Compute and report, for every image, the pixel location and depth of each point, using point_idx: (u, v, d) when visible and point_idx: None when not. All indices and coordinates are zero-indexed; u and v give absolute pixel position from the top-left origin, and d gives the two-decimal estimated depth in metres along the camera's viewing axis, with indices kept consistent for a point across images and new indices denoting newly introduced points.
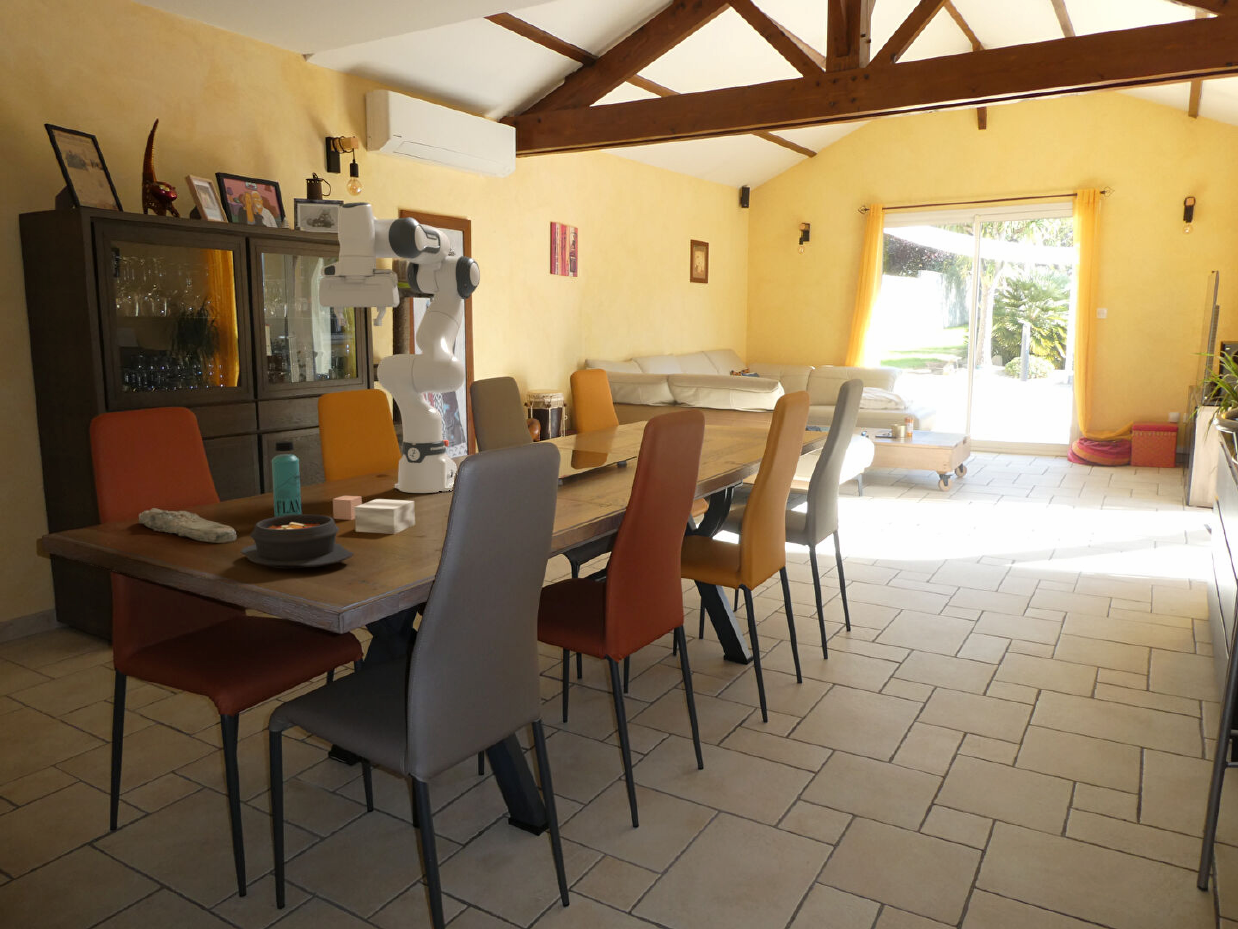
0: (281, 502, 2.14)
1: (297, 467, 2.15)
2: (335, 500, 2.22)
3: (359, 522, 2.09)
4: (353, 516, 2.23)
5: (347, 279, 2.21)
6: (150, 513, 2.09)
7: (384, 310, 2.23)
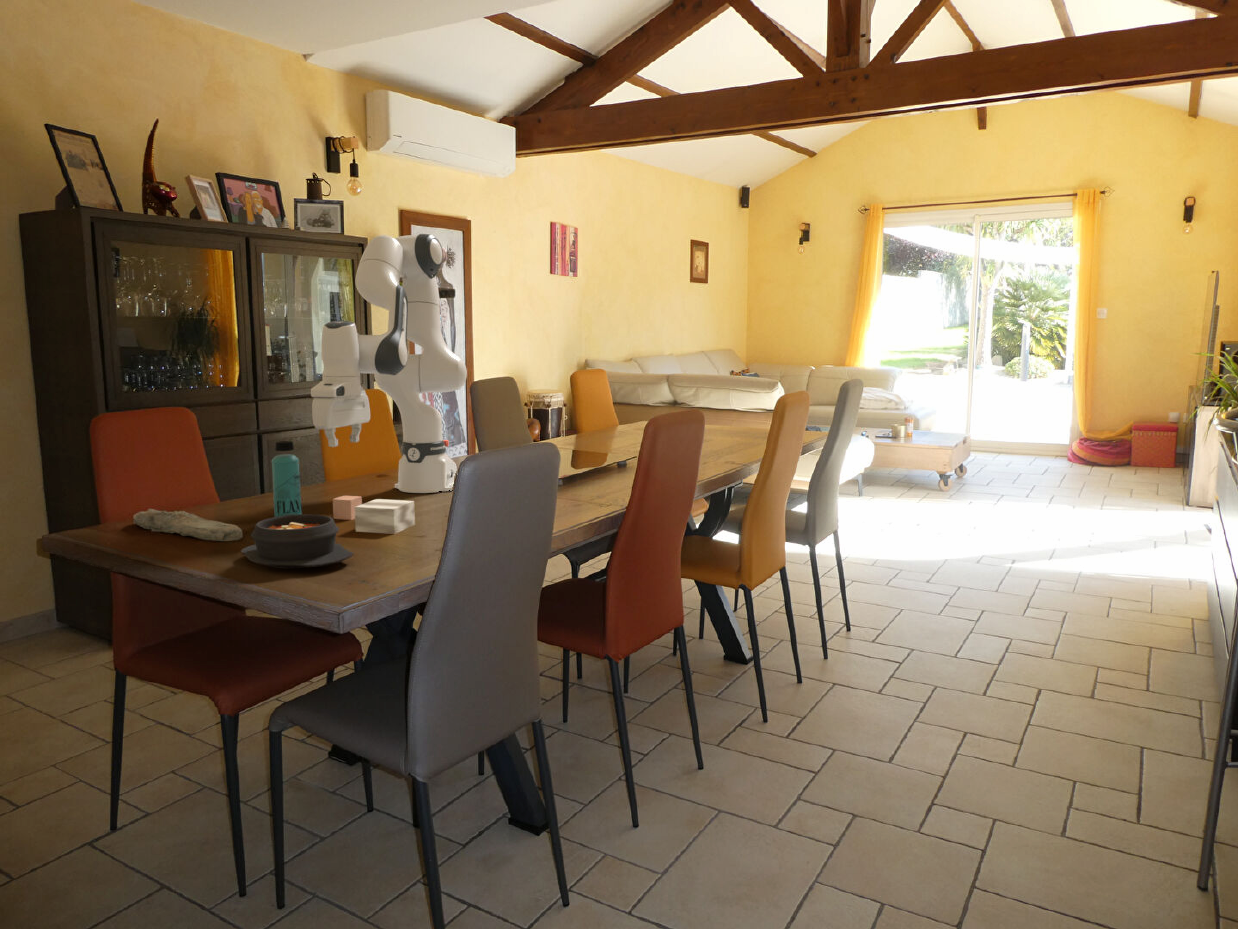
0: (281, 502, 2.14)
1: (297, 467, 2.15)
2: (335, 500, 2.22)
3: (359, 522, 2.09)
4: (353, 516, 2.23)
5: (348, 399, 2.18)
6: (148, 514, 2.08)
7: None
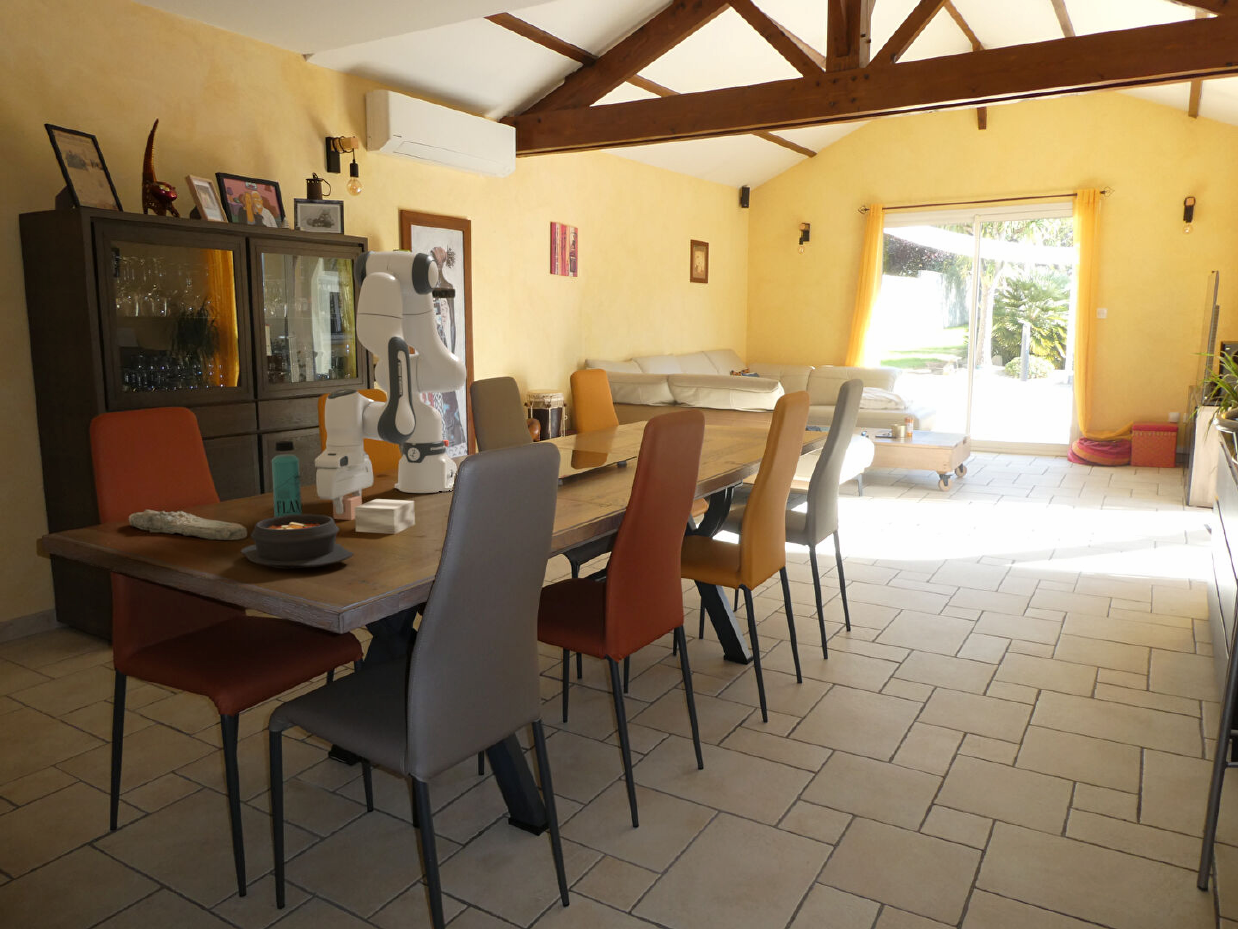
0: (281, 502, 2.14)
1: (297, 467, 2.15)
2: None
3: (359, 522, 2.09)
4: (353, 516, 2.23)
5: (352, 467, 2.21)
6: (147, 514, 2.07)
7: None
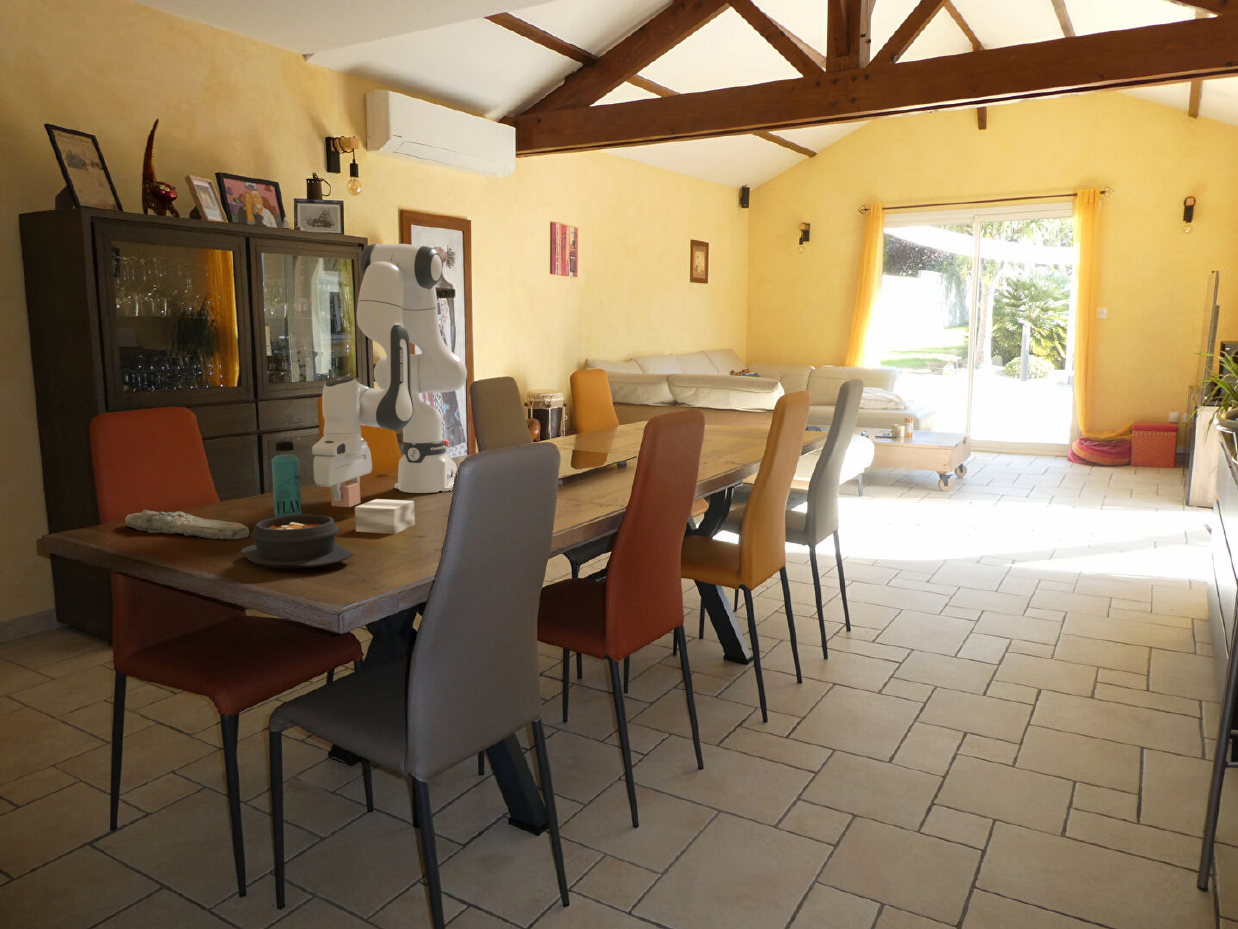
0: (281, 502, 2.14)
1: (297, 467, 2.15)
2: None
3: (359, 522, 2.09)
4: (351, 503, 2.23)
5: (349, 454, 2.21)
6: (146, 515, 2.07)
7: None
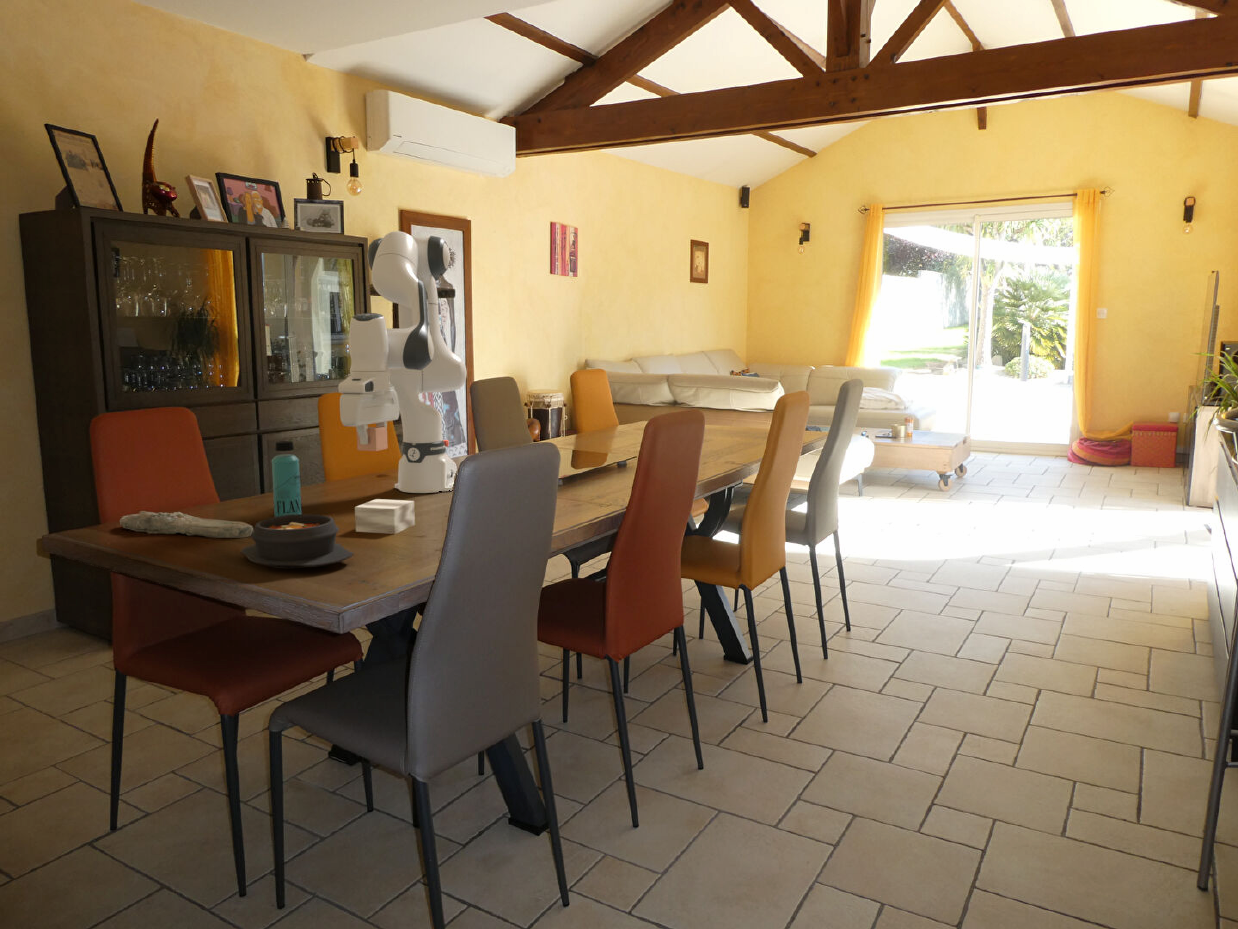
0: (281, 502, 2.14)
1: (297, 467, 2.15)
2: None
3: (359, 522, 2.09)
4: (378, 447, 2.10)
5: (377, 395, 2.08)
6: (145, 516, 2.06)
7: None
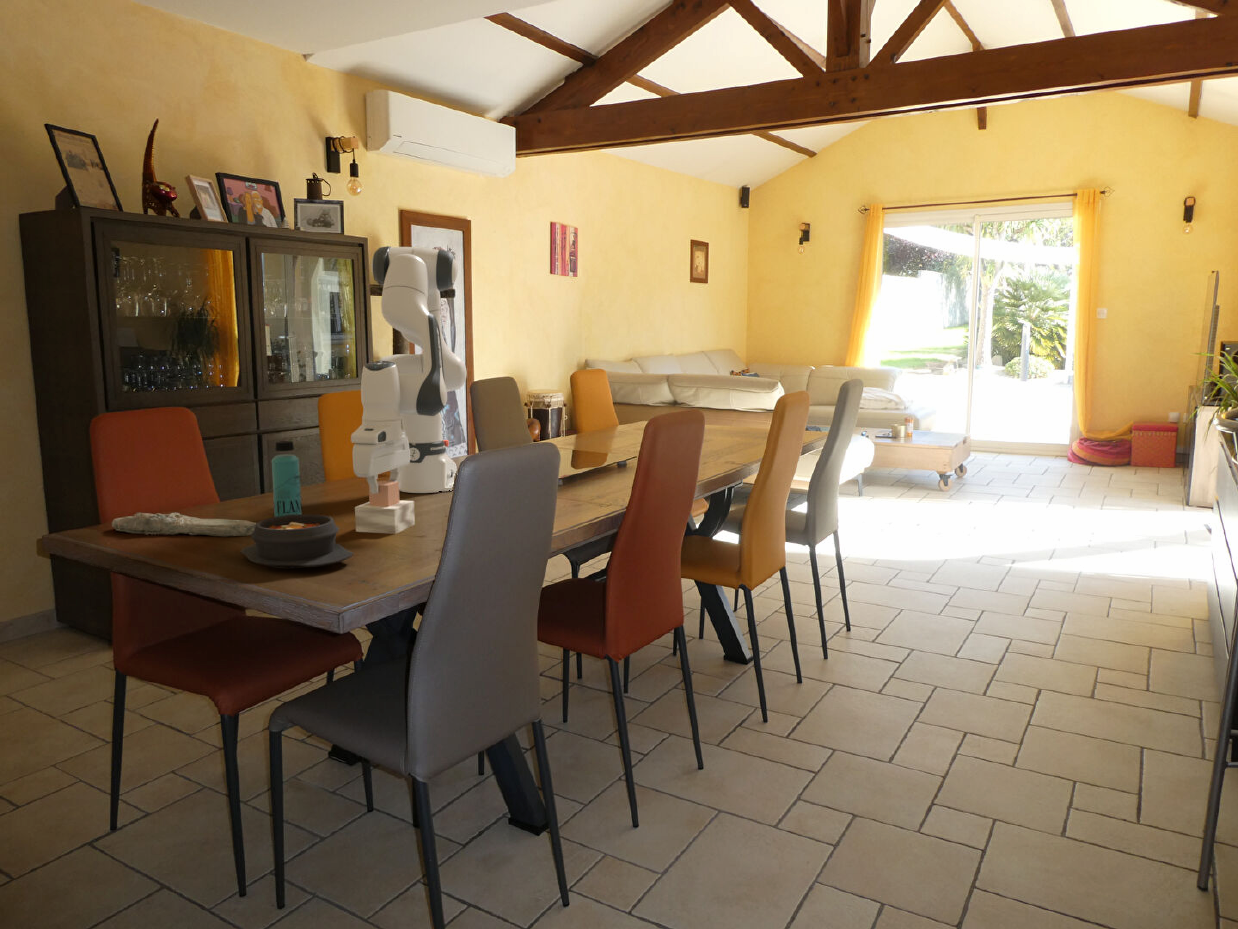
0: (281, 502, 2.14)
1: (297, 467, 2.15)
2: None
3: (359, 522, 2.09)
4: (391, 502, 2.10)
5: (389, 443, 2.08)
6: (144, 517, 2.05)
7: None
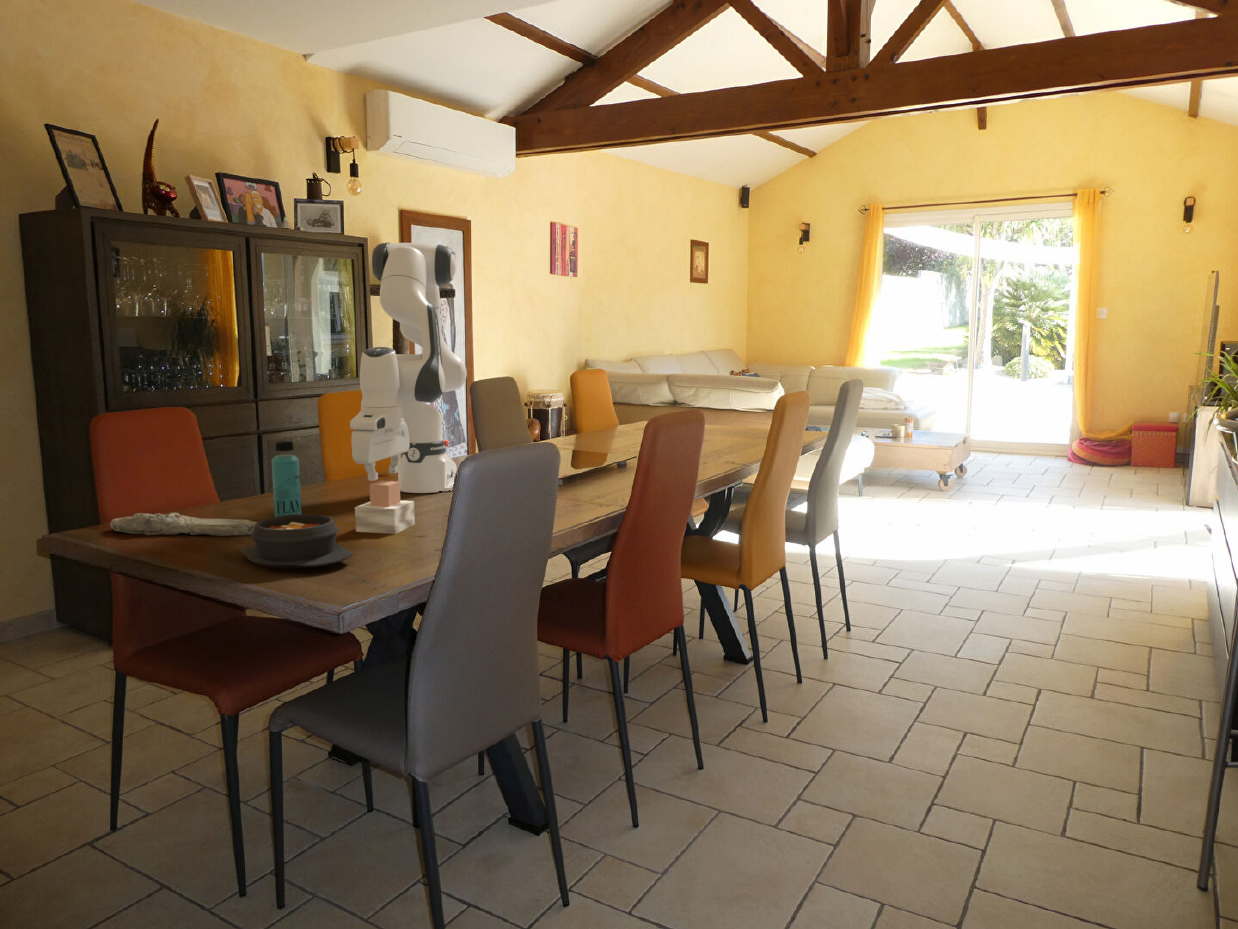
0: (281, 502, 2.14)
1: (297, 467, 2.15)
2: (372, 485, 2.10)
3: (359, 522, 2.09)
4: (391, 502, 2.10)
5: (389, 430, 2.08)
6: (144, 517, 2.04)
7: None
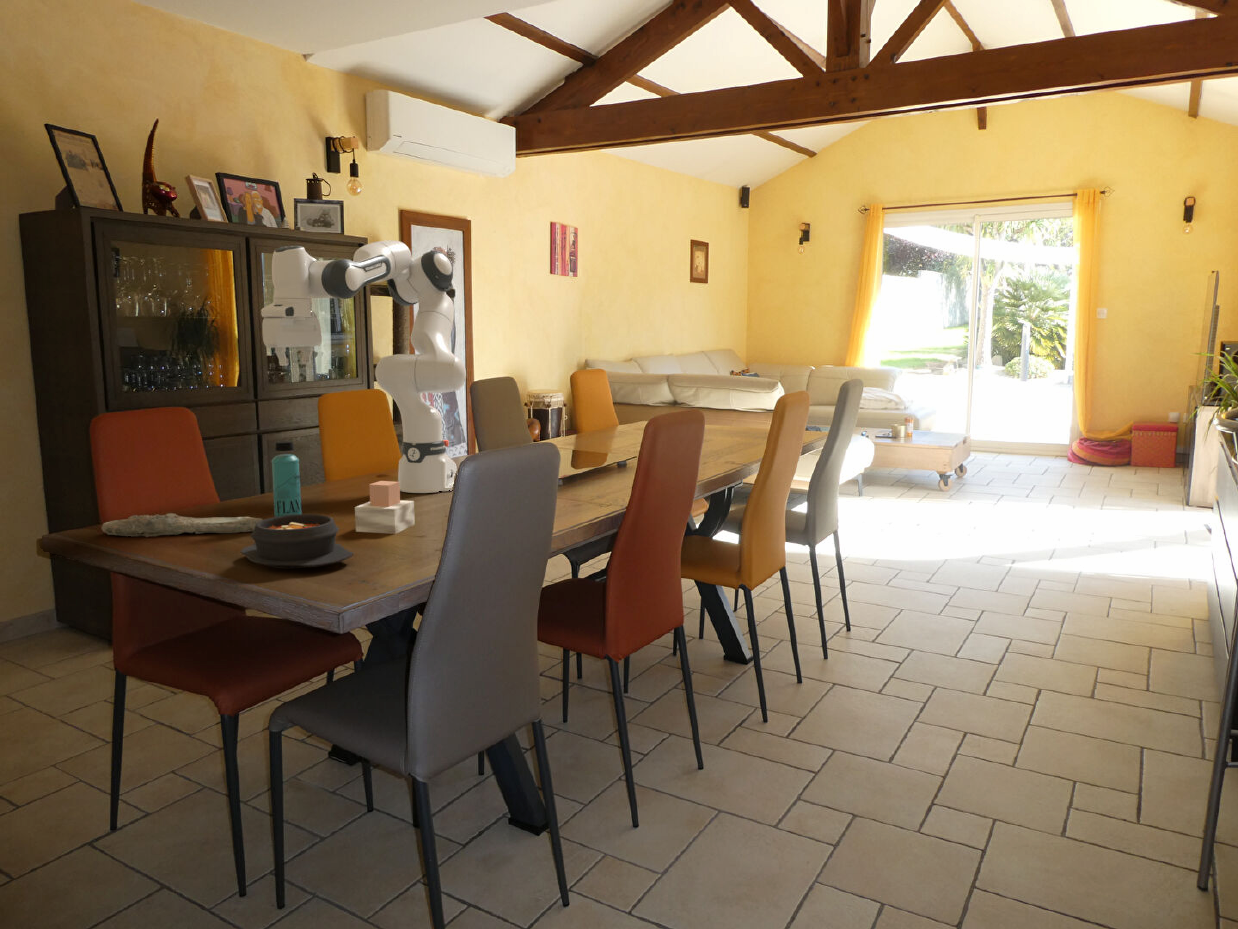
0: (281, 502, 2.14)
1: (297, 467, 2.15)
2: (372, 485, 2.10)
3: (359, 522, 2.09)
4: (391, 502, 2.10)
5: (298, 320, 2.29)
6: (145, 519, 2.03)
7: None
